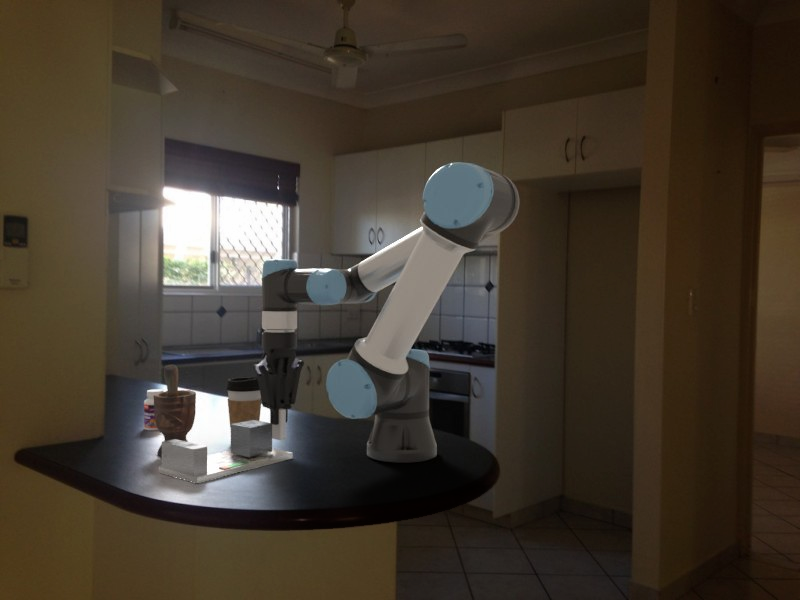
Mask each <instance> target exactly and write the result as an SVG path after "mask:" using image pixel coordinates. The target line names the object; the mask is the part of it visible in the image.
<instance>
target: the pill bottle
mask: <svg viewBox="0 0 800 600" xmlns="http://www.w3.org/2000/svg"><path fill="white" fill-rule="evenodd" d="M160 392H165V390H164V389H160V388H159V389H158V388H157V389H156V388H155V389H154V388H153V389H148V390H146V397H147V398H146V399H144V401H143V429H144V430H145V431H150V432H151V431H153V432H155V431H159V430H158V429H157V425H156V422H155V416H154V394H156V393H160Z"/></svg>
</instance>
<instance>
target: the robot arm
mask: <svg viewBox="0 0 800 600" xmlns="http://www.w3.org/2000/svg"><path fill="white" fill-rule="evenodd" d="M422 201H423V209H424V211H423V213H422V214H421V217H420V220H419V223H420V225H421V227H419V228H417V229H416V230H414V231H411V232H410V233H409V234H407V235H405V236H404V237H402V238H400V239H398V240H397V241H395V242H393V243H391V244H390V245H388V246H386V247H385V248H382V249H381V250H379V251H377V252H376V253H374V254H373V255H371V256H368V257H367V258H366V259H364V260H362V261H360V262H359V263H358V264H355V265H354V266H352V267H350V268H348V269H336V268H329V267H328V268H327V267H325V268H324V267H321V268H299V267H298V262H297V260H295V259H272V258H271V259H266V260H265V261H264V262H263V264H262V273H261V285H262V286H261V290H262V291H261V297H262V299H261V300H262V303H261V304H262V308H261V310H262V312H261V329H263V330H264V331H262V333H261V348H262V350H263V354H262V356H261V359H262V360H261V361H260V362H259V363H258V364H253V367H252V369H253V370H254V372H255V374H256V377H257V378H258V384H259V389H260V394H261V406H262V407H263V408H267V409H269V411H270V412H269V414H270V415H269V420H270V421H269V423H272V440H273V439H274V440H278V441H283V440H286V439H287V437H286V436H287V435H286V434H287V433H286V429H287V427H286V425H287V424H286V423H287V422H288V418H289V417H288V414H289V413H288V411H289V410H290V409H291V408H292V406H293V405H294V404H295V403H296V400H297V394H298V389H299V383H300V377H301V372H302V371H303V370H302V369H303V367H304V365H305V361H303V360H299V358H298V357H297V354H296V351H295V349H297V347H298V333H297V332H296V331H295V330H297V329H298V305H318V306H331V305H332V306H333V305H334V306H335V305H339V304H340V305H341V304H345V305H346V304H352V305H353V304H354V305H361V304H363V303H368V302H370V301H372V300H373V299H375V297H376V295H377V294H378V292H379V291H381V290H383V289H385V288H386V287H388V286H390V285H392V284H394V283H395V284H394V285H393V287H392V289H391V292H390V293H389V295H388V296H387V297H388V298H387V299H386V301H385V303H384V305H383V307H382V308H381V311H379V314H378V316H377V318H376V320H375V322H374V323H373V326H371V328H370V331H369V333H368V334H367V336H366V337H362V338H358V339H357V340H356V341H355V342H354V345H353V347H352V348H351V350H350V351H349V354H348V356H347V358H343V359H340V360H338V361H337V362H335V363H334V364H333V365H332V366H330V369H329V370H328V372H327V376H326V380H325V382H326V383H325V386H326V388H325V389H326V392H327V394H328V399H329V401H330V404H331V405H332V406H333V408H334V409H335V410H336V411H337V412H338V413H339V414H340V415H341V416H343V417H345V418H348V419H352V420H353V419H354V420H355V419H367V418H369V417H372V416H375V417H374V421H373V423H372V424H373V425H372V428H371V431H370V433H369V437H368V440H367V443H366V455H367V457H369V458H370V459H373V460H375V461H376V460H377V461H381V462H387V463H406V464H407V463H420V462H425V461H429V460H432V459H435V458H436V457H437V455H438V453H437V451H438V449H437V448H438V447H437V442H436V439H435V434H434V431H433V428H432V424H431V421H430V371H431V365H430V356H429V354H428V352H427V351H425V350H424V349H414V348H412V347H413V345H414V344H415V343H416V340H417V339H418V337H419V334H420V333H421V331H422V329H423V328H424V325H425V324H426V322H427V320H428V319H429V317H430V315H431V314H432V311H433V309H434V308H435V306H436V304H437V302H438V301H439V299H440V297H441V296H442V293H443V291H444V290H445V288H446V286H447V284H448V283H449V281H450V279H451V278H452V276H453V275H454V272H455V271H456V268H457V267H458V266H459V263H460V262H461V259H462V258H463V256H464V255H465V254H466V253H470V252H474V251H476V250H477V248H478V246H479V244H480V243H481V242H483V241H485V240H487V239H490V238H491V237H493V236H495V235H497V234H499V233H501V232H503V231H504V230H505V229H508V227H509V226H510V225H511V224H512V223H513V222H514V221H515V219H516V216H517V215H518V212H519V209H520V195H519V191H518V189H517V186H516V185H515V183H514V182H513V181H512V180H511V179H510V178H509V177H507V175H504V174H503V173H500V172H498V171H493V170H491V169H487V168H485V167H483V166H480V165H477V164H475V163H470V162H459V161H458V162H457V161H456V162H450V163H447V164H445V165H443V166H441V167H439V168H438V169H436V170H435V171H434V172H433V173H432V175H431V176H430V177H429V178H428V180H427V182H426V184H425V186H424V189H423V193H422Z"/></svg>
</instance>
